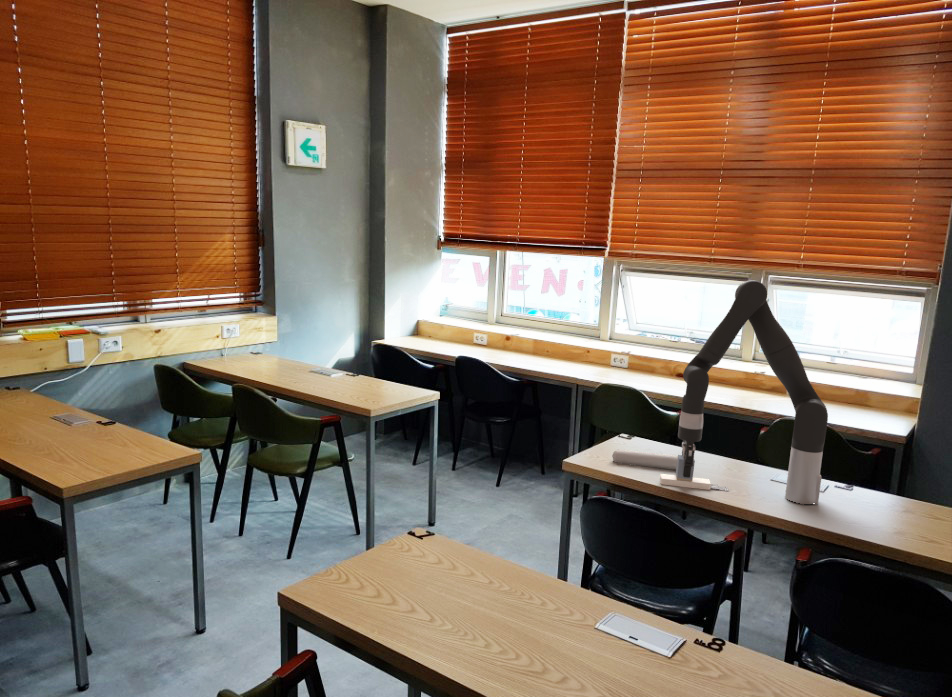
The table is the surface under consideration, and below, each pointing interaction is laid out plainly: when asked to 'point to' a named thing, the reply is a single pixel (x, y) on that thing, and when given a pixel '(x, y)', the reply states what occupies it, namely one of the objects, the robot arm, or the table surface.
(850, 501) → the table surface
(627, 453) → the tube
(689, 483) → the board
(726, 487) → the mark
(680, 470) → the block
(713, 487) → the mark
